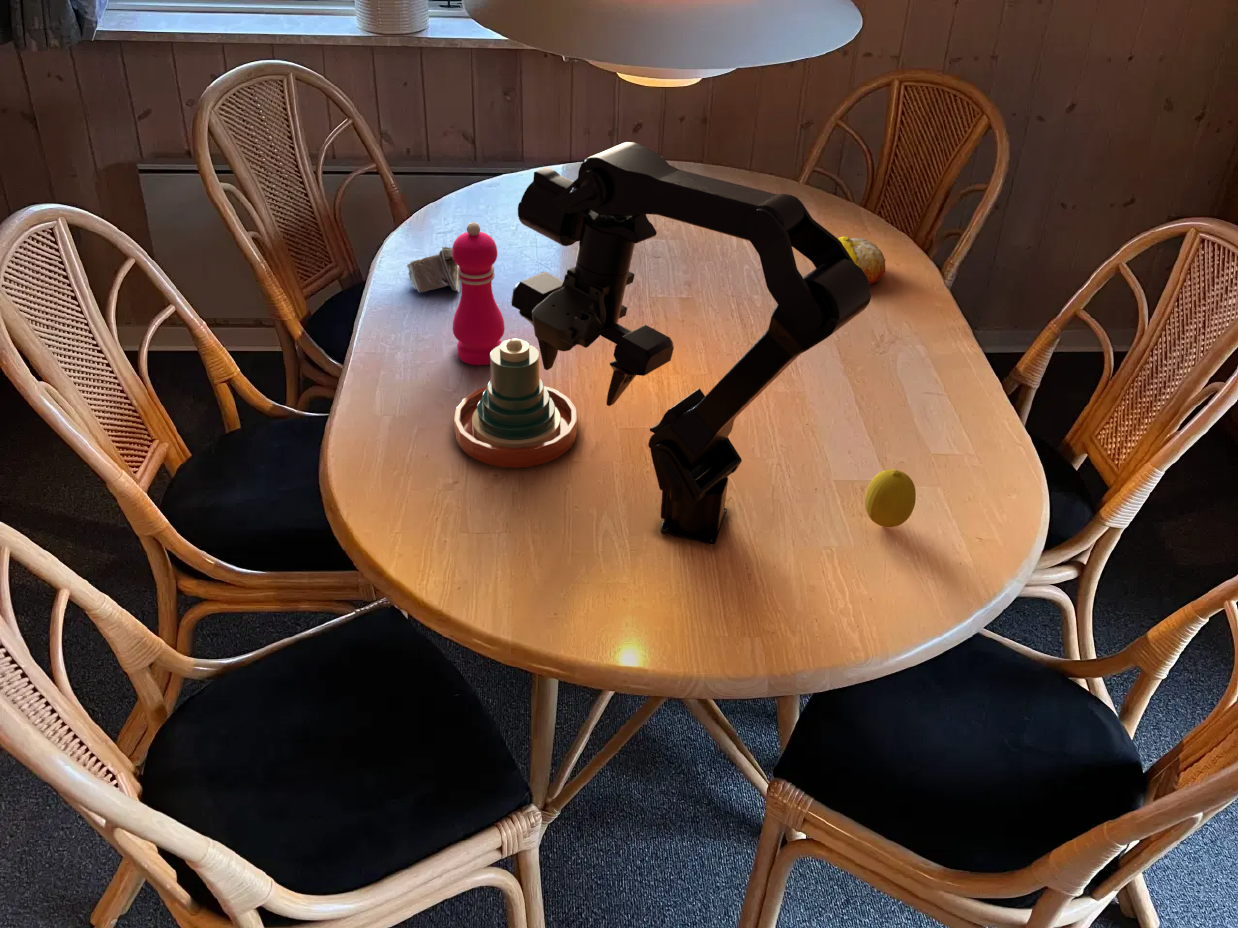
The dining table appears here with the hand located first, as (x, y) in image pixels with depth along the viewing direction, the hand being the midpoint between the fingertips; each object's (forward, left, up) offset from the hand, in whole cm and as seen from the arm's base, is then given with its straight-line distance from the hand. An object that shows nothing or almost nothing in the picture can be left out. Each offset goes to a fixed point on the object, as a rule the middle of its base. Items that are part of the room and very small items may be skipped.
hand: (578, 386), depth 120 cm
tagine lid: (+10, -6, -12) cm, 17 cm away
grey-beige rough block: (+42, -53, -6) cm, 68 cm away
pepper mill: (+22, -22, -13) cm, 34 cm away
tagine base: (+10, -6, -13) cm, 18 cm away
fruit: (-25, -66, -13) cm, 72 cm away
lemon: (-37, -3, -13) cm, 39 cm away
